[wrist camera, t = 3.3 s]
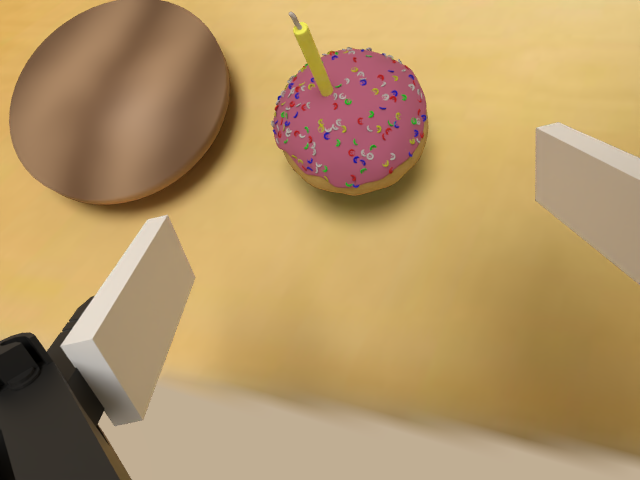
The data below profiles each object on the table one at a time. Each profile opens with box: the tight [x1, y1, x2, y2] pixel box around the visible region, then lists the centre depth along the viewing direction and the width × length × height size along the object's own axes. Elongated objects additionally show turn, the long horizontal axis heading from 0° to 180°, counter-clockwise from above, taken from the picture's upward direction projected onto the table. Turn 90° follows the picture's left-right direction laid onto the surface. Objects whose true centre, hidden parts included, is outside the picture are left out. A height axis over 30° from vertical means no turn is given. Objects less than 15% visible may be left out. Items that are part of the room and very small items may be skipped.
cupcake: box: [271, 12, 428, 196], centre depth 23 cm, size 9×8×12 cm
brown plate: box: [9, 0, 230, 205], centre depth 30 cm, size 15×15×3 cm
